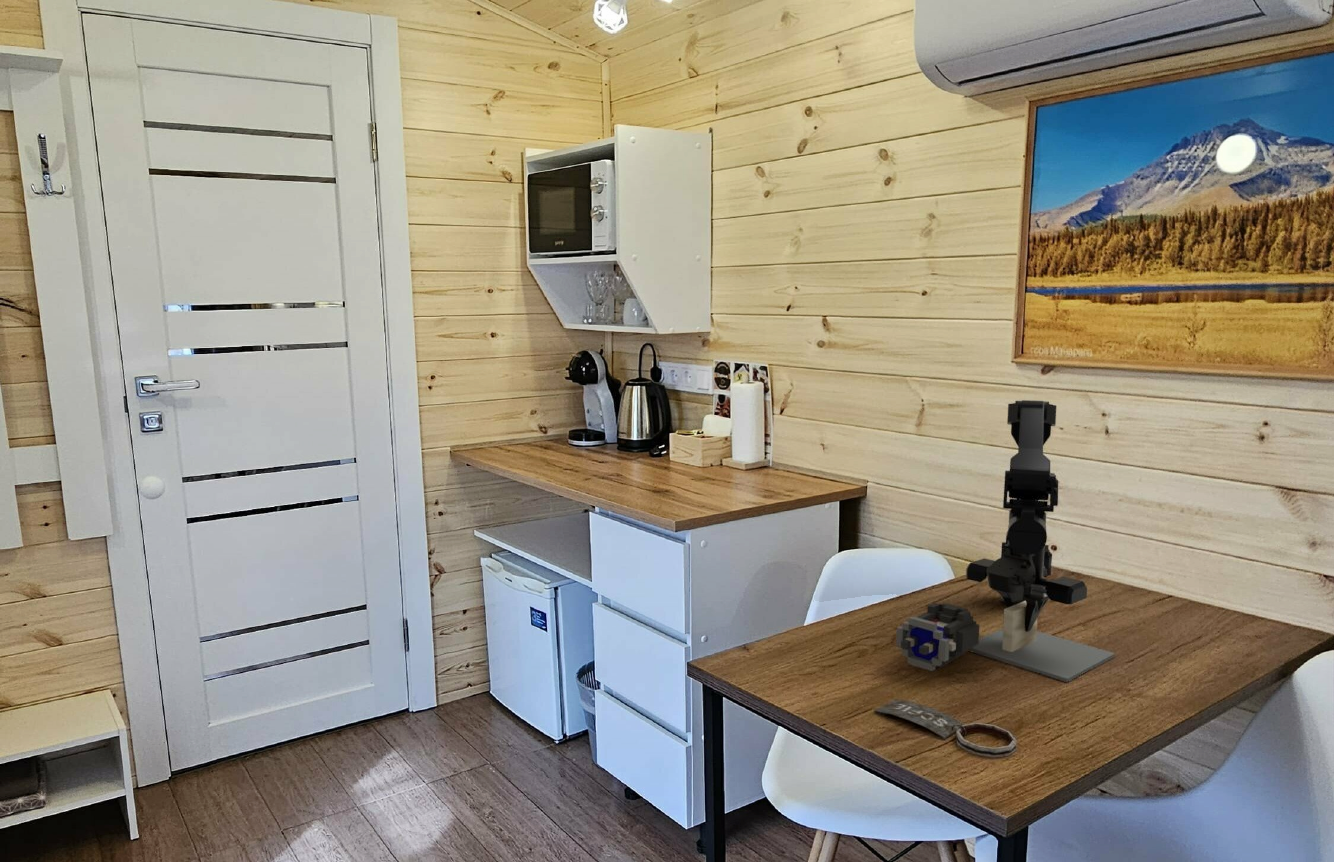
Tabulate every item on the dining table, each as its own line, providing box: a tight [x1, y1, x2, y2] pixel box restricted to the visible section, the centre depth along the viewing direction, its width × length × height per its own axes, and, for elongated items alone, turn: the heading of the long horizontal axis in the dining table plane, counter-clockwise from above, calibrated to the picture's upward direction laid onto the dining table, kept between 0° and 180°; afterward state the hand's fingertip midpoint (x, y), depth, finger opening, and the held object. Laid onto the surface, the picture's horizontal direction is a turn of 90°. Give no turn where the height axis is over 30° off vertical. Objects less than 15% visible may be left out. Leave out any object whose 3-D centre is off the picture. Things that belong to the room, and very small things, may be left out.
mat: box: [967, 628, 1116, 683], centre depth 147 cm, size 18×16×1 cm
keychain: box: [873, 699, 1018, 758], centre depth 120 cm, size 8×19×2 cm, turn 42°
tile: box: [1002, 601, 1038, 652], centre depth 149 cm, size 8×2×7 cm, turn 129°
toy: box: [895, 602, 980, 672], centre depth 142 cm, size 9×9×15 cm
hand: (1021, 629), depth 149 cm, fingers closed on tile, 2 cm apart
